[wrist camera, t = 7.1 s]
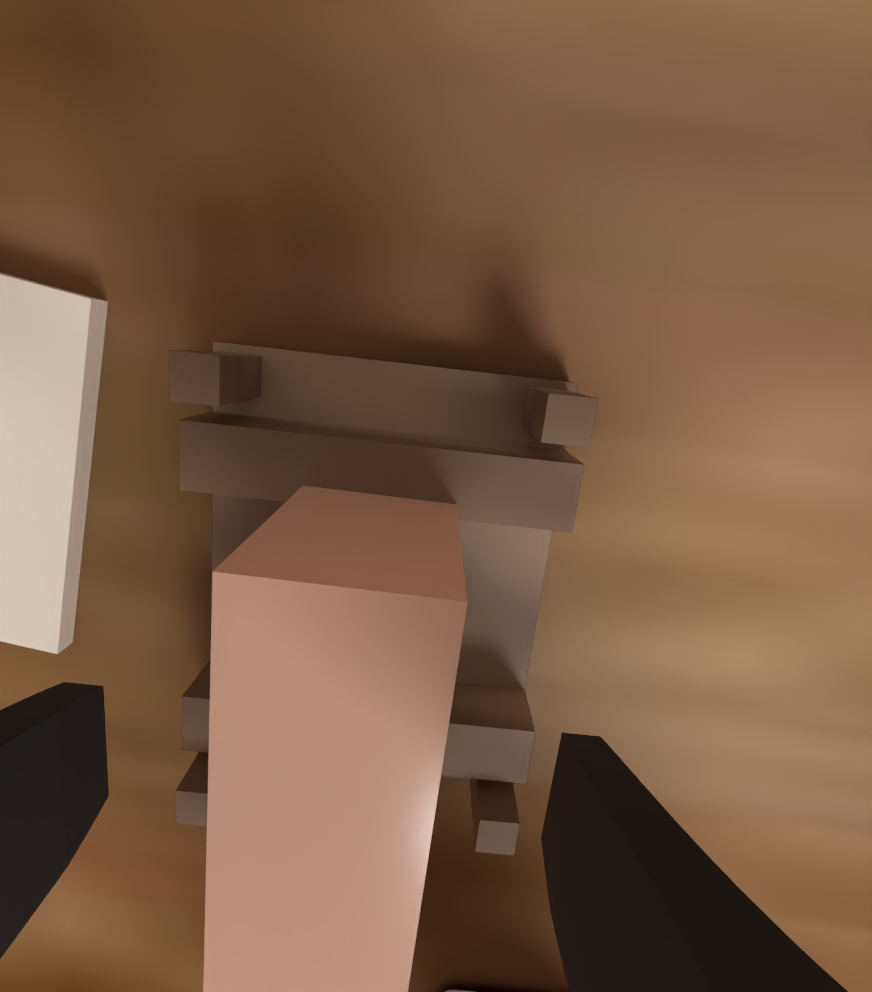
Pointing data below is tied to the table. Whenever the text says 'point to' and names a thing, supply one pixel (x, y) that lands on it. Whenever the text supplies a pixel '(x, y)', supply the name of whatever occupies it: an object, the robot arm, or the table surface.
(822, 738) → the table surface
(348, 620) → the salmon pink block
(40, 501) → the fired strip
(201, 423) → the rack
